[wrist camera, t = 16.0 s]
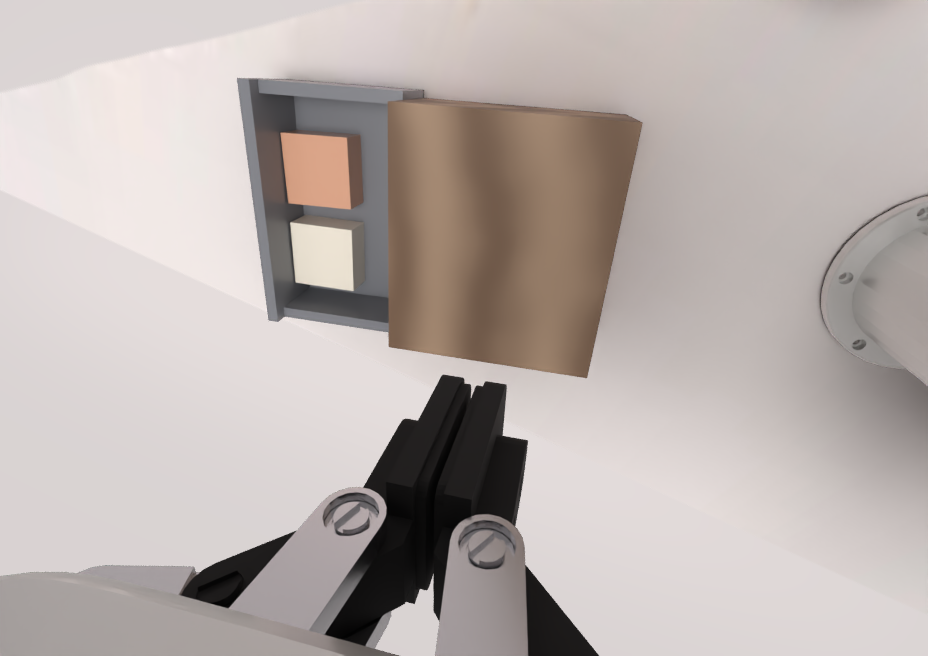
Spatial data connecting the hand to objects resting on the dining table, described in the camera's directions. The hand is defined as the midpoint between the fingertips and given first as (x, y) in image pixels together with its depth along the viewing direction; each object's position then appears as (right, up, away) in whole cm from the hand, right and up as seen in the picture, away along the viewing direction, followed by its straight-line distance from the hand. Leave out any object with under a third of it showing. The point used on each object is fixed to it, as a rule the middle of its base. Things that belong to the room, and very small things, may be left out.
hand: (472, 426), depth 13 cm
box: (-9, +13, +26) cm, 30 cm away
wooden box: (+3, +11, +25) cm, 27 cm away
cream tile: (-11, +8, +26) cm, 29 cm away
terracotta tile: (-11, +14, +23) cm, 29 cm away
